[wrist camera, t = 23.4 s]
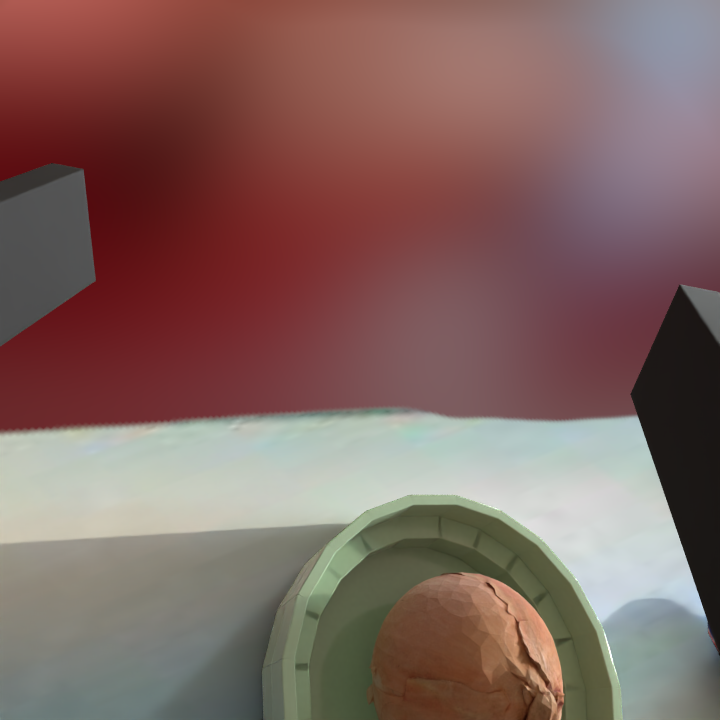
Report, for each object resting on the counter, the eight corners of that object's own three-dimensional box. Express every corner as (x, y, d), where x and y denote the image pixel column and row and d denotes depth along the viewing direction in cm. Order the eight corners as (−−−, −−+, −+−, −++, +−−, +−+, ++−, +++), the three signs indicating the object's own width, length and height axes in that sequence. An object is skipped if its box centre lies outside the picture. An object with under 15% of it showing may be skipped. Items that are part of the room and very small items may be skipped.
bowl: (184, 759, 28) (197, 762, 24) (363, 465, 39) (391, 434, 35) (506, 987, 28) (572, 1028, 24) (595, 627, 39) (650, 613, 35)
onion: (456, 730, 35) (614, 815, 27) (320, 755, 30) (465, 871, 22) (467, 560, 37) (617, 593, 29) (341, 556, 32) (481, 595, 24)
